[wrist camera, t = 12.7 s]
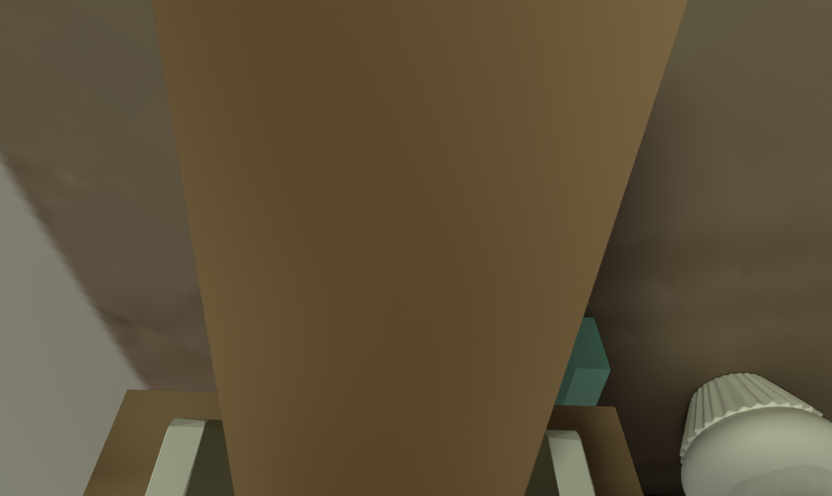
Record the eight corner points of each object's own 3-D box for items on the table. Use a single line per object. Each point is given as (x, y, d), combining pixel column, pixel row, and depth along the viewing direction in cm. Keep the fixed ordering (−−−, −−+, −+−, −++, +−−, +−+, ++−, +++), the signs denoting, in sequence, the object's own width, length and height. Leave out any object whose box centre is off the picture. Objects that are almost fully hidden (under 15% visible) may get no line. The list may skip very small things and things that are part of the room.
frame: (979, 336, 25) (1028, 388, 23) (818, 514, 33) (844, 562, 31) (562, 316, 24) (576, 368, 22) (502, 504, 32) (509, 554, 30)
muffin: (712, 455, 30) (781, 618, 24) (623, 406, 27) (678, 575, 22) (837, 386, 27) (947, 554, 21) (750, 323, 24) (849, 495, 19)
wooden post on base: (899, -266, 6) (1802, -275, 2) (603, 432, 13) (695, 741, 9) (-101, -373, 6) (-1328, -651, 2) (135, 417, 12) (9, 740, 8)
